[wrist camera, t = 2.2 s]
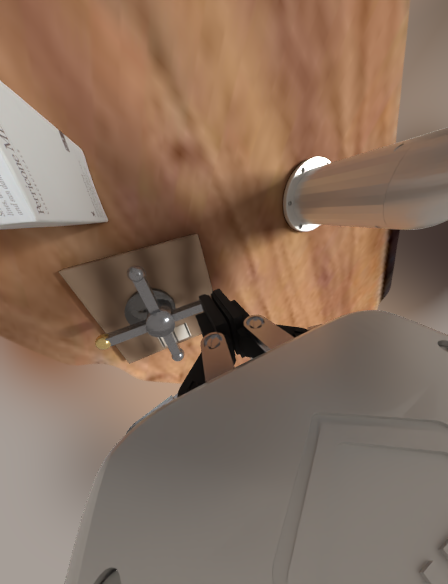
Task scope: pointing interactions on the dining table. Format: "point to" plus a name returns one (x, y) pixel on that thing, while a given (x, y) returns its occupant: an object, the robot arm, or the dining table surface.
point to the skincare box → (41, 172)
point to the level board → (119, 288)
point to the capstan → (149, 315)
